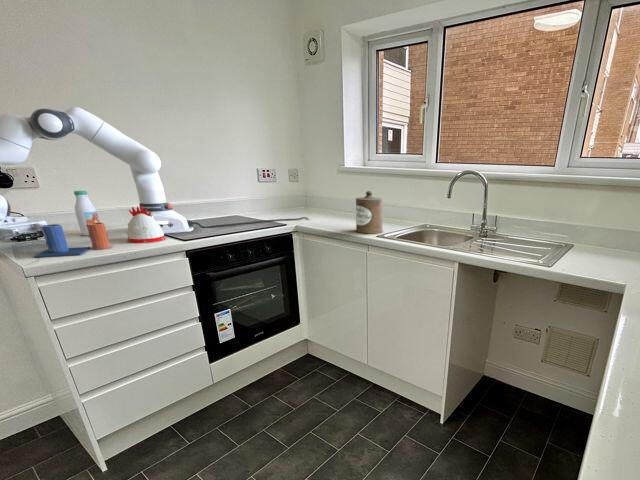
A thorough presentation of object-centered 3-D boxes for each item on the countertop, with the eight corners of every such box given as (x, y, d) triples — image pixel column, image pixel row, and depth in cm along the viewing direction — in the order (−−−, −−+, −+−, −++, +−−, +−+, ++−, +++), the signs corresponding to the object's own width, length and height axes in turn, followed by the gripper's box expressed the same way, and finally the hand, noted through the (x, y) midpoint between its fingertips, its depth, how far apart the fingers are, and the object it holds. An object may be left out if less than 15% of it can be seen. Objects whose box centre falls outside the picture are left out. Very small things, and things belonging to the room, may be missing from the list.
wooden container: (351, 230, 200) (350, 190, 192) (371, 228, 209) (371, 189, 201) (366, 234, 190) (366, 192, 182) (387, 232, 199) (388, 191, 191)
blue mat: (90, 248, 143) (89, 246, 143) (79, 255, 133) (79, 253, 133) (48, 250, 138) (48, 249, 138) (34, 257, 128) (34, 256, 128)
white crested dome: (133, 237, 165) (125, 204, 159) (167, 236, 170) (160, 204, 164) (124, 243, 153) (115, 208, 147) (161, 242, 158) (153, 208, 152)
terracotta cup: (112, 246, 148) (105, 222, 144) (108, 249, 143) (101, 224, 139) (95, 246, 146) (88, 222, 142) (91, 249, 141) (83, 224, 137)
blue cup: (71, 249, 138) (63, 224, 135) (66, 252, 133) (57, 226, 130) (53, 250, 136) (44, 224, 132) (46, 253, 131) (37, 227, 128)
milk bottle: (82, 236, 163) (68, 191, 155) (81, 233, 168) (68, 190, 161) (103, 234, 167) (91, 191, 160) (102, 232, 173) (90, 190, 166)
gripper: (-38, 223, 125) (-7, 225, 123) (28, 215, 144) (56, 217, 142) (-31, 240, 127) (0, 243, 125) (33, 231, 146) (61, 233, 144)
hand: (30, 229), depth 134 cm, fingers open, 8 cm apart
